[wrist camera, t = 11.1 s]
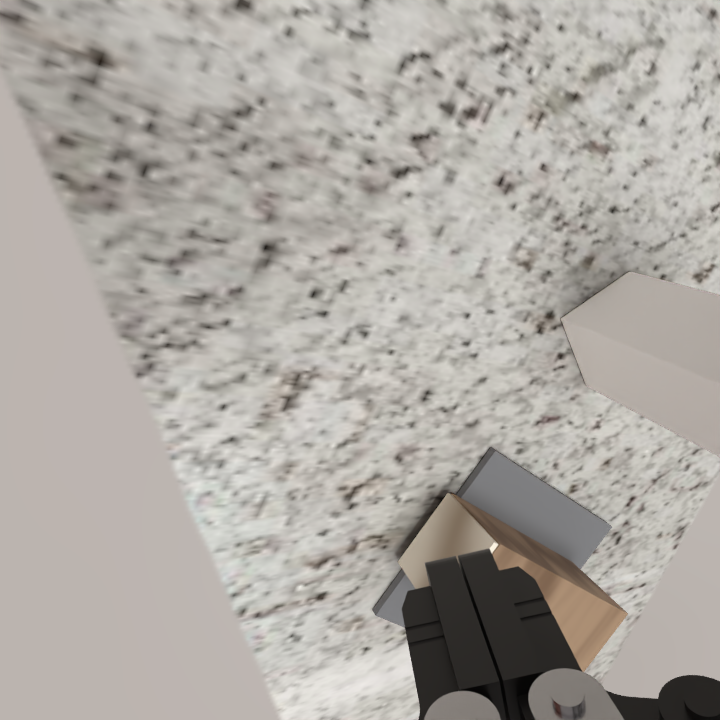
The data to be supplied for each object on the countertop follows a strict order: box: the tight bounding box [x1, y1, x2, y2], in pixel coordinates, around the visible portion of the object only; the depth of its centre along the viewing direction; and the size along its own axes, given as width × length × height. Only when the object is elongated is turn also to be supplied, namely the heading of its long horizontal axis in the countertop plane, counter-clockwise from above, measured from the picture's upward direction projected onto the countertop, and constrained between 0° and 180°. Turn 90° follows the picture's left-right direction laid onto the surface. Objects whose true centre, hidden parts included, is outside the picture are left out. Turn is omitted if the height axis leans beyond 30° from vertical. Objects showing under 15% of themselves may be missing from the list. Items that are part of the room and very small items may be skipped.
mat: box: [373, 448, 612, 627], centre depth 47 cm, size 14×14×1 cm
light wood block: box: [398, 493, 628, 672], centre depth 43 cm, size 6×6×14 cm
